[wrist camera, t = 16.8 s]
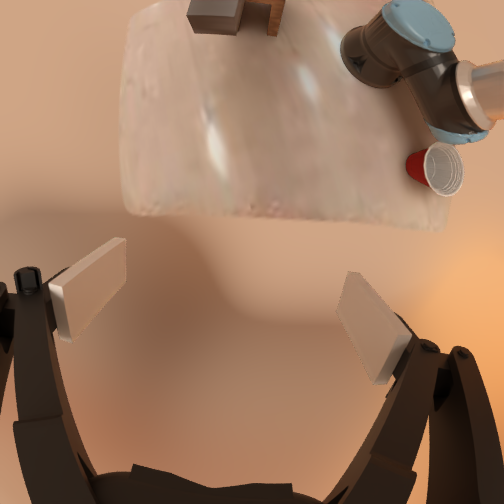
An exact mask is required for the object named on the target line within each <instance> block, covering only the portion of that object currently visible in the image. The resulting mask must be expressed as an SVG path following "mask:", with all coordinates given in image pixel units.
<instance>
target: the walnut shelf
mask: <svg viewBox="0 0 504 504" xmlns="http://www.w3.org/2000/svg"><path fill="white" fill-rule="evenodd" d="M245 1H247V2H256V3H264V4H271V5H272V6H271V12H270V19H269V25H268V32H267V35H270V36H276V37H277V33H278V29H279V25H280V21H281V16H282V12H283V8H284V4H285V0H245ZM244 4H245V2H244ZM243 8H244V6H243ZM242 12H243V10H242ZM241 16H242V14H241ZM240 21H241V18H240ZM239 25H240V22H239ZM238 29H239V26H238Z"/></svg>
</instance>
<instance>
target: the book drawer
mask: <svg viewBox="0 0 504 504" xmlns="http://www.w3.org/2000/svg"><path fill="white" fill-rule="evenodd" d="M244 2H245V0H191V2H190V5H189V8H188V12H187V15H186V16H187V18H188V20H189V22H190V24H191V26H192V29H193V31H194V33H198V34H221V35H234V36H236V35H237V31H238V26H239V22H240V18H241V14H242V10H243V6H244Z"/></svg>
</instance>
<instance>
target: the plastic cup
mask: <svg viewBox="0 0 504 504" xmlns="http://www.w3.org/2000/svg"><path fill="white" fill-rule="evenodd" d="M406 170H407V172H408V174H409V175H410V176H411V177H412V178H413V179H415V180H418V181H419V182H421V183H423V184H424V185H426V186H428V187H430V188H431V189H433V190H434V191H435V192H436V193H437V194H439V195H441V196H444V197H448V196H453V195H454V194H455V193H456V192H458V191H459V190H460V187H461V186H462V184H463V180H464V173H465V172H464V165H463V160H462V159H461V156H460V154H459V152H458V151H457V149H456V148H455V147H454V146H453V145H452V144H446V143H442V142H440V141H438V142H435V143H434V144H433V145H431V146H430V147H429V148H428V149H425V150H422V151H419V152H417V153H413V154H412V155H410V156H409V157H408V159H407V161H406Z"/></svg>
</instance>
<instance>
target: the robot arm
mask: <svg viewBox="0 0 504 504" xmlns="http://www.w3.org/2000/svg"><path fill="white" fill-rule="evenodd" d="M454 35H455V34H454V31H453V29H452V27H451V25H450V23H449V22H448V21H447V19H446V18H445V17H444V16H443V15H442V14H441V13H440V12H439V11H438V10H437V9H436V8H434V7H433V6H432V5H430V4H429V3H426V2H424V1H423V0H392V1H391V2H390V3H387V4H386V5H384V6H383V7H382V9H381V10H380V11H379V12H378V14H377V15H376V16H375V17H374V18H373V19H372V20H371V21H370V22H369V23H368V24H367V25H365V26H359V27H356V28H353V29H352V30H350V31H349V32H348V33H347V34H346V35H345V36H344V38H343V40H342V42H341V47H340V51H341V56H342V59H343V62H344V64H345V65H346V67H347V68H348V70H349V71H350V72H351V73H352V74H353V75H354V76H355V77H356V78H357V79H359V80H360V81H362V82H363V83H365V84H367V85H370V86H373V87H377V88H386V87H390V86H392V85H394V84H396V83H398V82H399V81H400V80H401V79H402V78H403V77H404V79H405V81H406V83H407V85H408V87H409V88H410V90H411V92H412V94H413V96H414V98H415V100H416V102H417V104H418V106H419V108H420V110H421V113H422V115H423V117H424V120H425V122H426V124H427V125H428V126H429V128H430V130H431V132H432V134H433V136H434V137H435V138H436V139H437V140H438V141H440V142H442V143H446V144H454V145H456V144H457V145H460V144H466V143H468V142H470V143H473V142H477V141H480V140H482V139H484V138H485V137H486V136H487V135H488V132H489V130H491V129H492V128H493V127H494V126H495V123H496V121H497V120H501V119H504V60H500V61H496V62H492V63H488V64H484V65H481V66H476V65H474V64H473V63H471V62H469V61H466V60H465V61H464V60H463V61H458V59H457V57H456V55H455V54H454V52H453V50H452V48H453V47H454V45H455V38H454ZM14 279H15V285H16V290H17V294H13V293H8V291H7V287H6V284H5V283H3V282H0V413H1V407H2V401H3V396H4V391H5V386H6V382H7V378H8V374H9V369H10V365H11V362H12V358H13V355H14V378H15V392H16V402H17V410H18V418H19V421H14V423H13V432H14V438H15V443H16V448H17V453H18V457H19V462H20V466H21V470H22V474H23V477H24V481H25V484H26V487H27V491H28V494H29V497H30V500H31V503H32V504H406V503H407V501H408V498H409V496H410V494H411V491H412V489H413V486H414V484H415V481H416V477H417V473H416V472H414V471H412V467H413V464H414V461H415V459H416V456H417V453H418V450H419V446H420V443H421V440H422V437H423V433H424V430H425V426H426V423H427V419H428V415H429V435H430V439H429V440H430V451H429V452H430V453H429V478H428V491H427V500H426V504H504V464H503V458H502V452H501V446H500V442H499V437H498V432H497V428H496V424H495V420H494V416H493V412H492V409H491V405H490V402H489V398H488V395H487V392H486V389H485V386H484V383H483V380H482V377H481V375H480V372H479V369H478V366H477V364H476V361H475V358H474V356H473V355H472V353H471V352H470V351H469V350H468V349H466V348H465V347H461V346H455V347H453V349H452V350H451V352H450V354H444V353H440V349H439V347H438V346H437V345H436V344H435V343H433V342H431V341H429V340H426V339H419V338H418V337H417V336H416V334H415V333H414V332H413V331H412V329H411V328H409V326H408V325H407V324H406V322H405V321H404V320H403V319H402V318H401V317H400V316H399V315H397V314H396V313H395V312H393V311H392V310H391V309H390V307H389V306H388V305H387V304H386V303H385V301H384V300H383V299H382V298H381V297H380V296H379V295H378V293H377V292H376V291H375V290H374V289H373V288H372V287H371V285H370V284H369V283H368V282H367V281H366V280H365V279H364V278H363V276H362V275H361V274H360V273H356V272H348V274H347V277H346V281H345V285H344V287H343V291H342V294H341V297H340V300H339V304H338V307H337V310H336V313H337V314H338V317H339V319H340V321H341V322H342V324H343V326H344V328H345V330H346V332H347V334H348V336H349V338H350V340H351V342H352V344H353V346H354V348H355V350H356V352H357V354H358V356H359V358H360V360H361V362H362V364H363V365H364V368H365V370H366V372H367V374H368V376H369V378H370V380H371V382H372V384H373V385H381V384H387V383H388V381H389V379H390V377H391V376H392V374H393V376H394V377H395V379H396V380H395V382H394V383H393V385H392V387H391V389H390V390H389V392H388V394H387V395H386V400H385V402H384V405H383V407H382V409H381V411H380V413H379V415H378V417H377V419H376V420H375V422H374V424H373V426H372V428H371V430H370V432H369V434H368V435H367V437H366V439H365V441H364V442H363V444H362V446H361V448H360V449H359V451H358V453H357V454H356V456H355V457H354V459H353V461H352V462H351V464H350V465H349V467H348V469H347V470H346V472H345V473H344V475H343V476H342V478H341V479H340V480H339V482H338V483H337V485H336V486H335V488H334V489H333V490H332V492H331V493H330V494H329V495H328V496H327V497H326V499H325V500H324V501H323V502H321V501H319V500H317V499H315V498H312V497H310V496H307V495H304V494H300V493H295V492H293V490H292V484H291V483H286V484H264V483H251V484H245V485H239V486H230V487H222V488H209V487H206V486H203V485H200V484H197V483H195V482H192V481H189V480H187V479H184V478H182V477H179V476H177V475H174V474H172V473H169V472H164V471H160V470H155V469H151V468H147V467H144V466H140V465H136V464H133V466H132V470H131V472H111V473H106V474H101V475H97V473H96V471H95V469H94V468H93V466H92V464H91V462H90V460H89V457H88V455H87V453H86V450H85V448H84V445H83V443H82V440H81V437H80V435H79V432H78V429H77V427H76V424H75V421H74V418H73V415H72V412H71V408H70V405H69V402H68V398H67V395H66V392H65V387H64V384H63V380H62V376H61V372H60V367H59V363H58V358H57V353H56V347H55V342H54V337H53V332H54V330H55V329H56V328H57V330H58V334H59V338H60V339H61V340H64V341H67V342H70V343H73V342H74V341H75V340H76V339H77V337H78V336H79V335H80V334H81V333H82V332H83V330H84V329H85V328H86V327H87V326H88V324H89V323H90V322H91V321H92V320H93V319H94V317H95V316H96V315H97V314H98V313H99V312H100V310H101V309H102V308H103V307H104V306H105V305H106V303H107V302H108V301H109V300H110V299H111V298H112V297H113V296H114V295H115V293H116V292H117V291H118V290H119V289H120V288H121V287H122V286H123V285H124V284H125V282H126V239H124V238H117V237H114V238H113V239H111V240H110V241H108V242H107V243H105V244H103V245H102V246H100V247H99V248H97V249H96V250H94V251H93V252H91V253H90V254H88V255H87V256H86V257H84V258H83V259H81V260H80V261H78V262H77V263H75V264H74V265H73V266H71V267H68V268H65V269H63V270H61V271H60V272H59V273H58V274H56V275H54V276H53V278H50V279H49V280H48V281H46V282H45V283H43V284H42V279H41V272H40V269H38V268H37V267H24V268H21V269H19V270H17V271H16V272H15V273H14Z"/></svg>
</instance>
